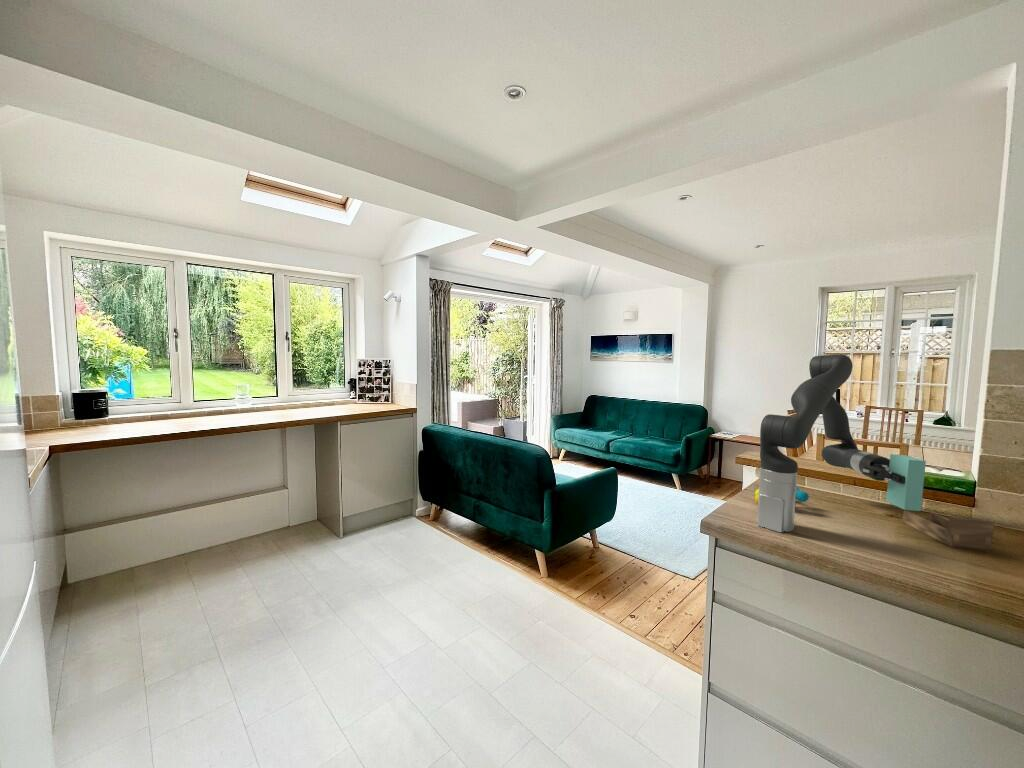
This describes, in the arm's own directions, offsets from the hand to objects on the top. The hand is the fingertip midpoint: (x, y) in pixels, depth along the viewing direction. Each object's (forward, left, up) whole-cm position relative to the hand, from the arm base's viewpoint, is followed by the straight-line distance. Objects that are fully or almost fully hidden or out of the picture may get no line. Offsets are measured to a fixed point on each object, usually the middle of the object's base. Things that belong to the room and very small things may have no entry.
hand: (913, 481), depth 113 cm
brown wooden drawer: (+14, -6, -17) cm, 22 cm away
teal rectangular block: (+2, +2, -8) cm, 8 cm away
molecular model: (+3, +33, -17) cm, 38 cm away
